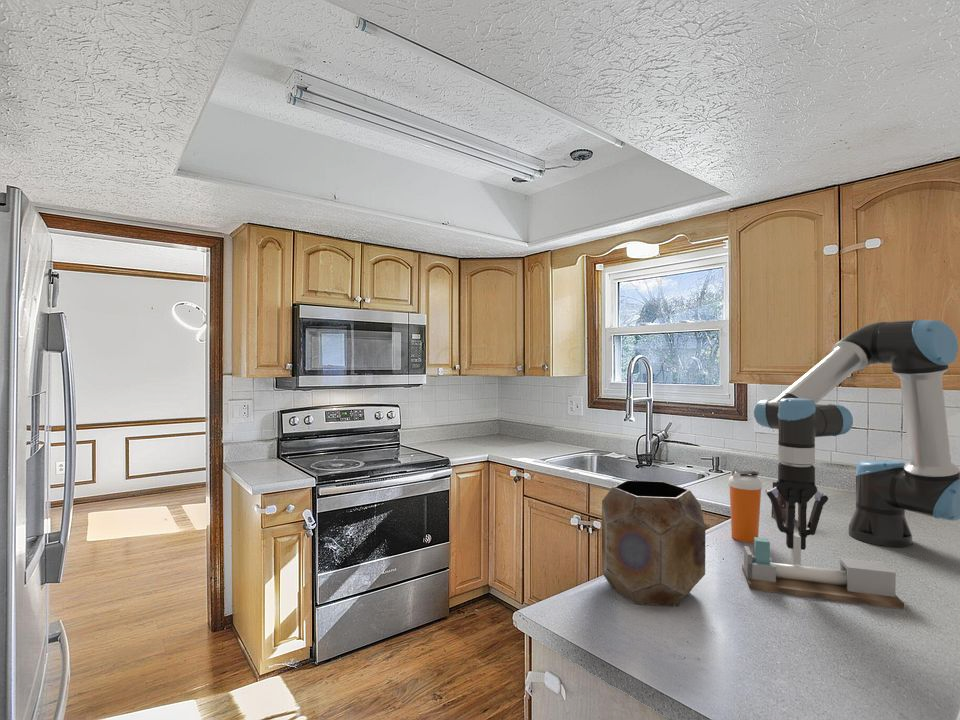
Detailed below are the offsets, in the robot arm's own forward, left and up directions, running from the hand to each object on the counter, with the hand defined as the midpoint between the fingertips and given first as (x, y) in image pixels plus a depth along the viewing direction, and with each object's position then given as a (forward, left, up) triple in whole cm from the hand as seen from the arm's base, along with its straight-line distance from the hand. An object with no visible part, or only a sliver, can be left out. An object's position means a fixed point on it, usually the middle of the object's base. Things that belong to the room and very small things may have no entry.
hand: (795, 562), depth 126 cm
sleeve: (-14, 0, -4) cm, 15 cm away
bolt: (-1, 0, -4) cm, 4 cm away
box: (-8, -56, -6) cm, 57 cm away
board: (-4, 0, -5) cm, 7 cm away
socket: (+8, 0, -4) cm, 9 cm away
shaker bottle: (+7, -31, -6) cm, 32 cm away
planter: (+33, +14, -6) cm, 36 cm away
